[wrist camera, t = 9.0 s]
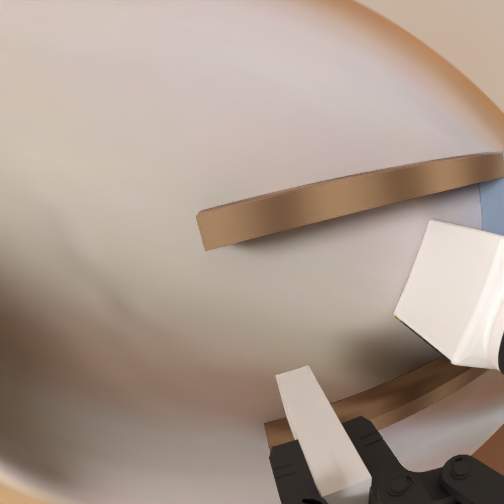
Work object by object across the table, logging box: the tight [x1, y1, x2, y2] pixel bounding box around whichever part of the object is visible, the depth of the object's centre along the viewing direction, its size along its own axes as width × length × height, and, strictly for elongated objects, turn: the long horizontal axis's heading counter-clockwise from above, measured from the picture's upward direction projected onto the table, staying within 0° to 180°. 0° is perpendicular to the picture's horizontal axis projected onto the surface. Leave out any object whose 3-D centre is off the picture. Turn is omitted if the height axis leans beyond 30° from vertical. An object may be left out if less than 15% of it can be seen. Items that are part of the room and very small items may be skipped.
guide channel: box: [196, 153, 504, 453], centre depth 18 cm, size 20×17×3 cm
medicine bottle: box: [394, 219, 504, 374], centre depth 13 cm, size 7×7×12 cm
